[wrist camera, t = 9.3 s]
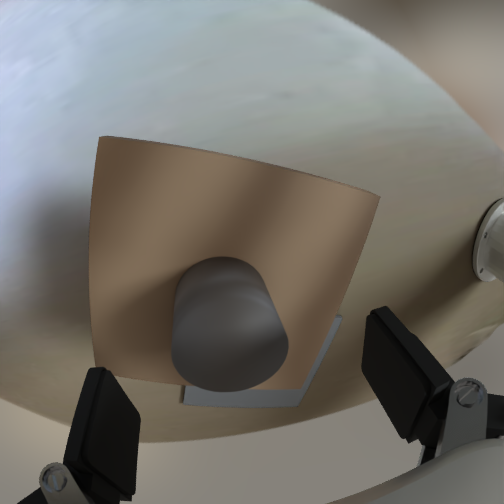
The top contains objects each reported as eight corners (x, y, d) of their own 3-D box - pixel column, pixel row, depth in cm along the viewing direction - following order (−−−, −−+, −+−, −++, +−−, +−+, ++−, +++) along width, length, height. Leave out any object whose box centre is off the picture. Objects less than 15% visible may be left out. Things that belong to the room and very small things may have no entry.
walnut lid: (368, 191, 15) (433, 223, 10) (295, 376, 19) (319, 436, 15) (107, 135, 11) (57, 143, 7) (100, 358, 16) (83, 424, 11)
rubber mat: (340, 315, 31) (342, 318, 30) (296, 403, 36) (297, 406, 36) (199, 301, 27) (199, 304, 27) (183, 401, 32) (183, 404, 32)
